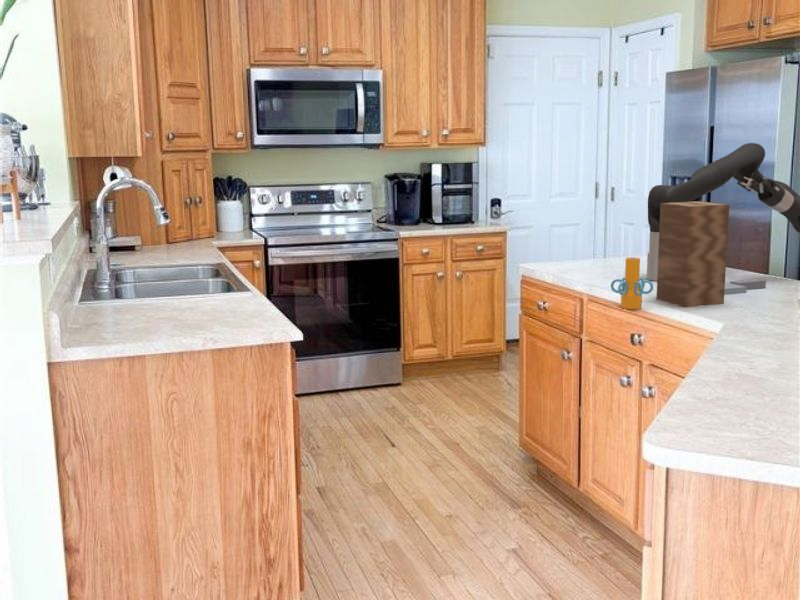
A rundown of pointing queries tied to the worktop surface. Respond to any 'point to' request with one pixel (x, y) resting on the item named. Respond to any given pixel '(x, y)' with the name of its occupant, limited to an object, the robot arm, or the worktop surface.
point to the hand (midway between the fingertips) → (743, 174)
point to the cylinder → (631, 285)
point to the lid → (743, 286)
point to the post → (692, 253)
